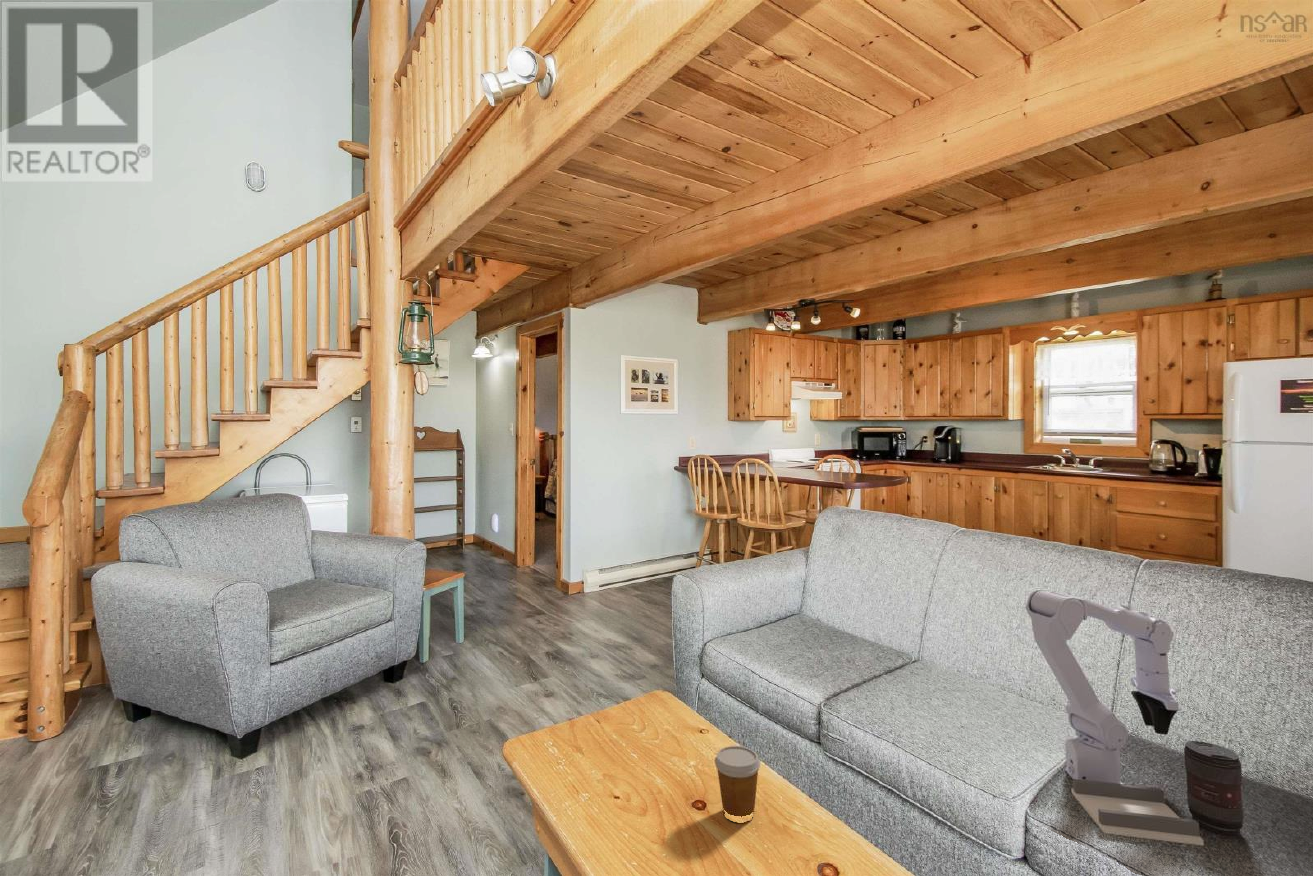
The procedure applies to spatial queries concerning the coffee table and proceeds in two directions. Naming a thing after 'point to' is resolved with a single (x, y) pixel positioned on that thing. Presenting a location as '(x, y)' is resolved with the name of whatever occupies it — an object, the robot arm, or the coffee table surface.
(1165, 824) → the lens cradle
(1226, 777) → the dark patterned cylinder
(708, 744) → the coffee table surface
